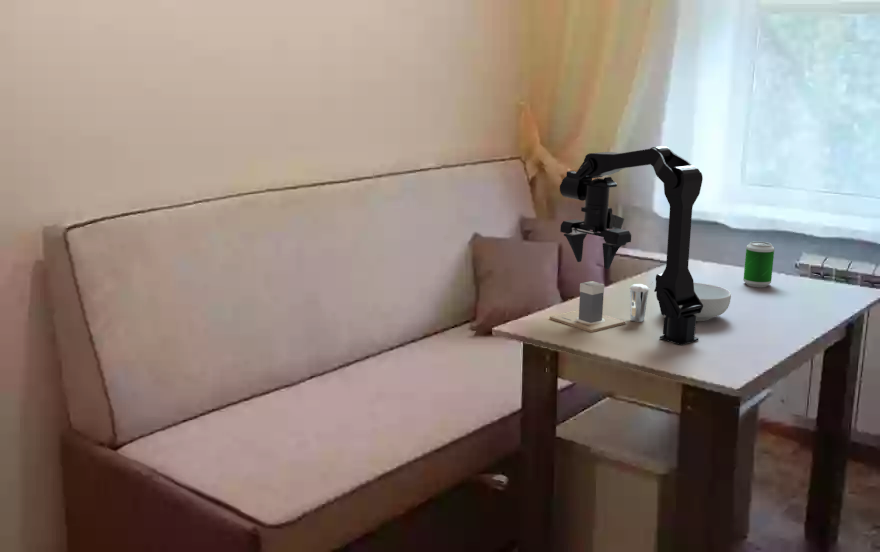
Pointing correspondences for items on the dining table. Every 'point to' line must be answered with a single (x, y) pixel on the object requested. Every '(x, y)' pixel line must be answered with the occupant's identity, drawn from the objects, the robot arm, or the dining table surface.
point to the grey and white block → (591, 301)
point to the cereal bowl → (711, 300)
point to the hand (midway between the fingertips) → (592, 265)
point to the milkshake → (638, 302)
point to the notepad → (574, 320)
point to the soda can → (758, 264)
